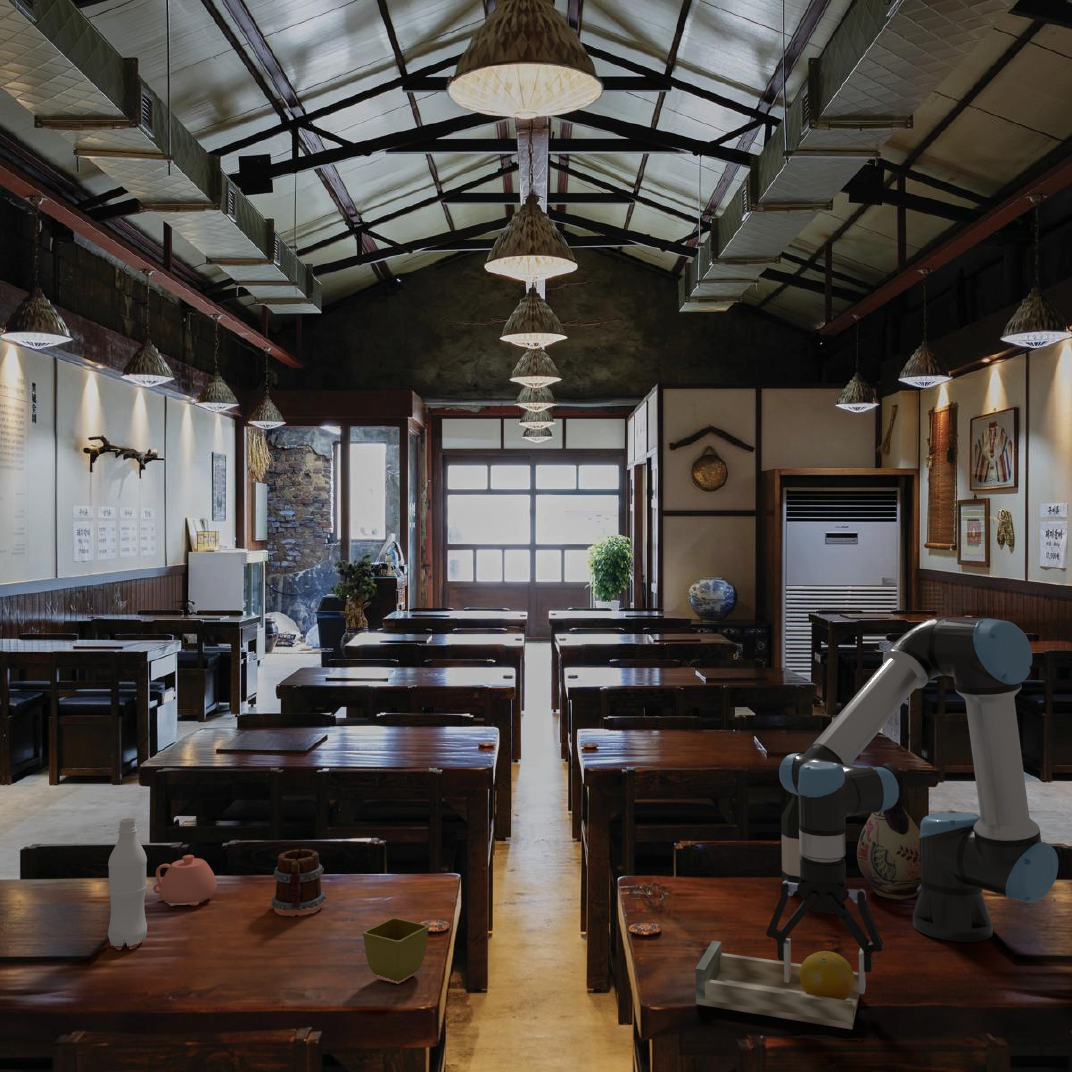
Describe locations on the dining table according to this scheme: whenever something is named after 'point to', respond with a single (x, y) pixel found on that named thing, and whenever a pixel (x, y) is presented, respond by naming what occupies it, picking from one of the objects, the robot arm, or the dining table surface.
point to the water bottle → (127, 887)
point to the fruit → (827, 975)
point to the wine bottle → (791, 842)
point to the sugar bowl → (186, 881)
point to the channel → (767, 990)
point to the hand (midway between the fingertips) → (824, 985)
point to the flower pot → (396, 948)
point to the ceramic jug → (891, 849)
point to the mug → (298, 880)
